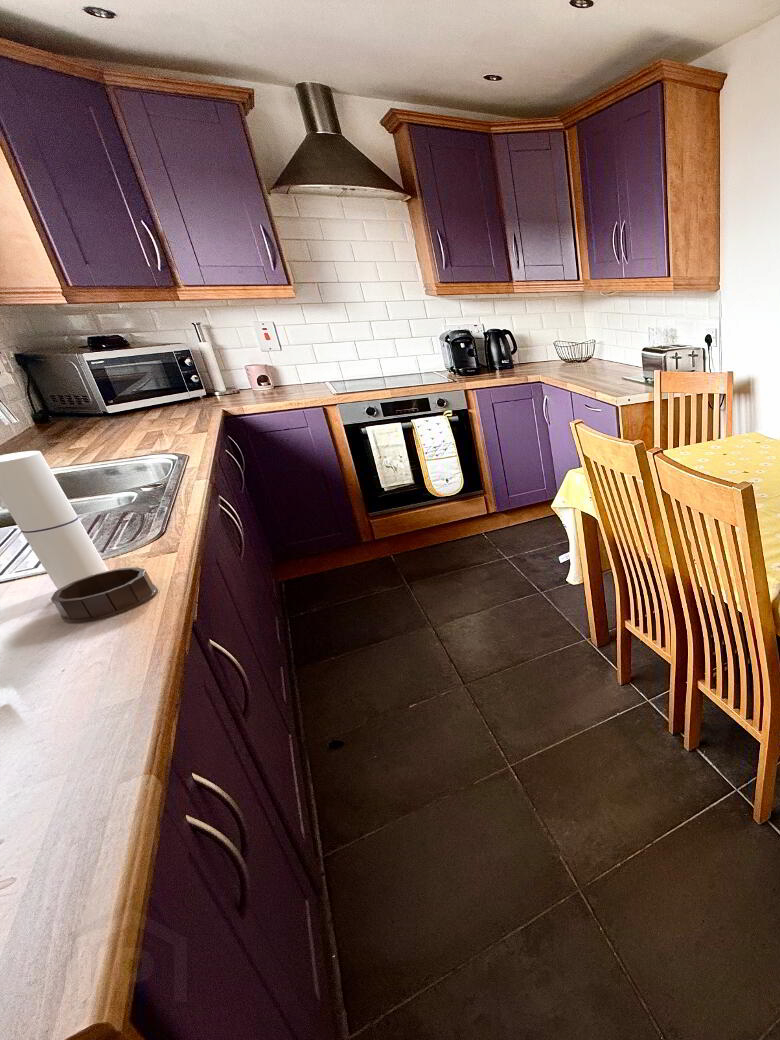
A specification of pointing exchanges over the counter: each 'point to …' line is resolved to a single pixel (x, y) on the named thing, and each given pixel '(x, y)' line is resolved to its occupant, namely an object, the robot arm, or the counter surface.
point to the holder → (104, 595)
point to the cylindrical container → (47, 518)
